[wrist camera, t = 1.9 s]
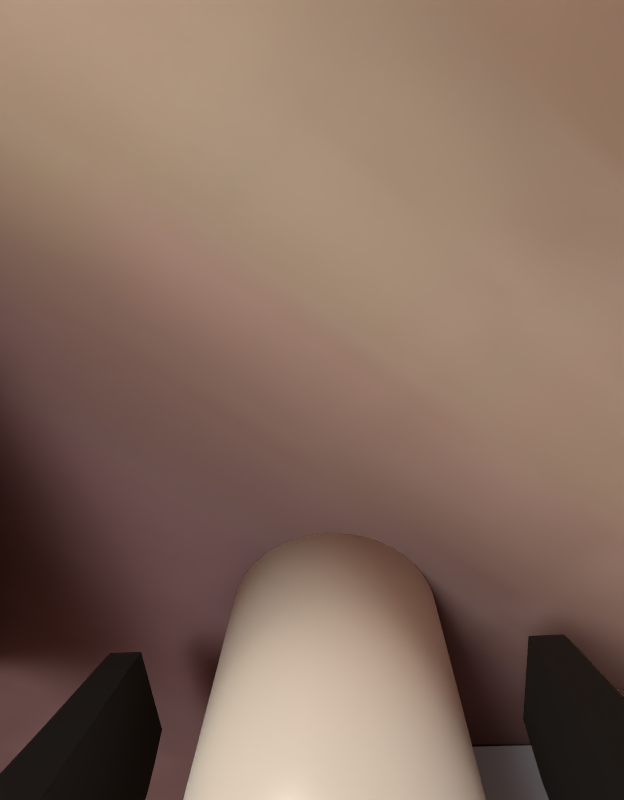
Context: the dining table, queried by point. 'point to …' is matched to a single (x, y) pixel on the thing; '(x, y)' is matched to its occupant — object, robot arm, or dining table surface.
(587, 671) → the robot arm
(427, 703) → the cream capped bottle
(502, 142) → the dining table surface
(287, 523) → the dining table surface
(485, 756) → the block
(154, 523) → the dining table surface
